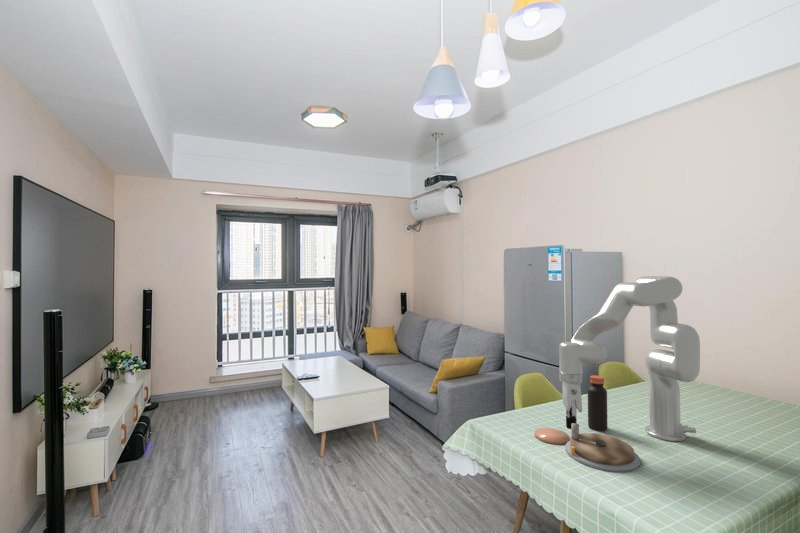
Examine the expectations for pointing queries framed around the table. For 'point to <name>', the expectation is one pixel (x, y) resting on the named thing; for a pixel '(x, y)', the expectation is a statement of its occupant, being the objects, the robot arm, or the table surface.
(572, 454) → the wheel base
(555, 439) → the peach dome
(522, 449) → the table surface
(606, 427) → the vinegar
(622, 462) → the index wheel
